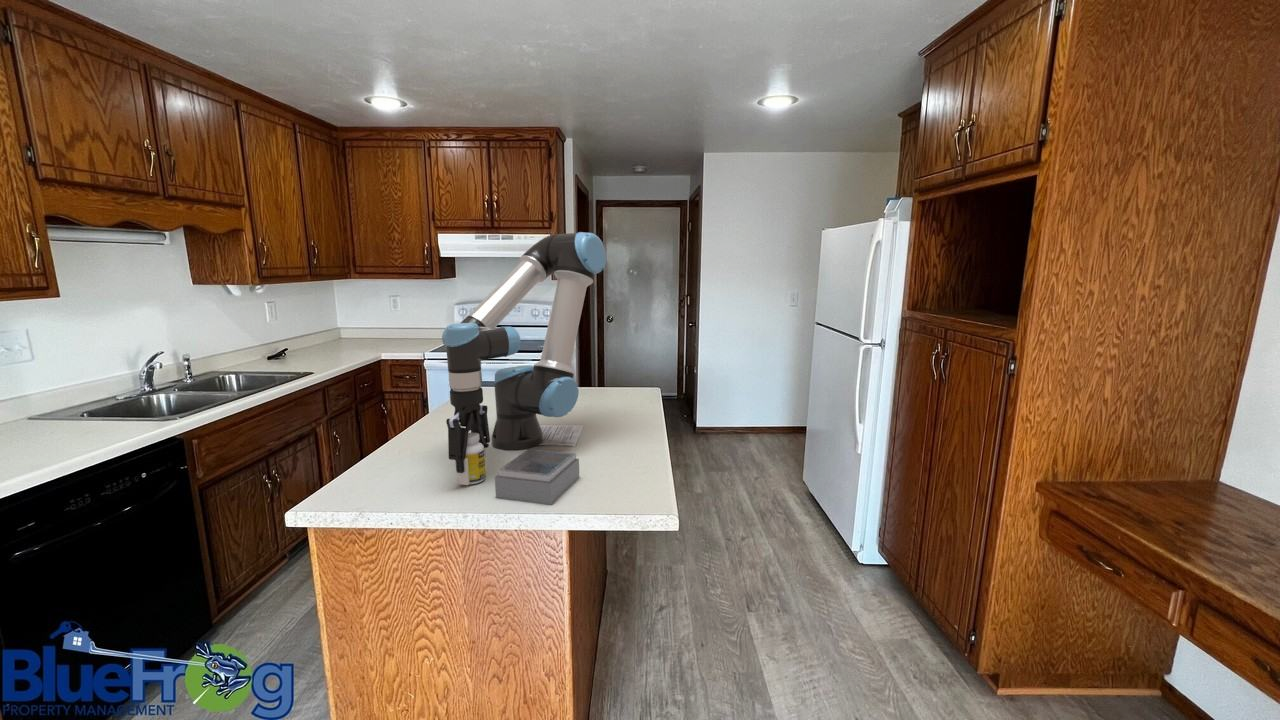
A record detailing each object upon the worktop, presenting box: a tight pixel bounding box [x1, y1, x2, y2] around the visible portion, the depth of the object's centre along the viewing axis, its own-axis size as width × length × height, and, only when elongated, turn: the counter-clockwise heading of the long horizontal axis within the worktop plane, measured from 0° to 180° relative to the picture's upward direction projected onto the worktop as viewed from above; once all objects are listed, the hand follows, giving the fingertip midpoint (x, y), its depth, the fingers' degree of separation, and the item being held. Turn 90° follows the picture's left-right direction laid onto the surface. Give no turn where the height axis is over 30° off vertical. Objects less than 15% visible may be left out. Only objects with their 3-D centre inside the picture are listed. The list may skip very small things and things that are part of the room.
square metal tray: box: [494, 448, 580, 506], centre depth 126 cm, size 16×16×6 cm
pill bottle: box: [465, 431, 487, 485], centre depth 129 cm, size 6×6×12 cm
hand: (472, 478), depth 130 cm, fingers closed on pill bottle, 6 cm apart
